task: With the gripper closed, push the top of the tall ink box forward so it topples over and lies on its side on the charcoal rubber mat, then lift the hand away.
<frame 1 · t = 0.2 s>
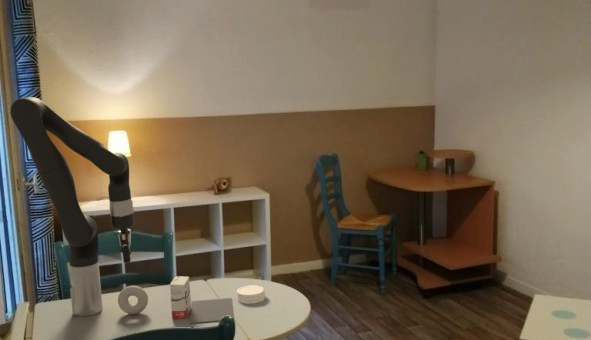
hand: (127, 258, 193), 18 cm above the table, tool pointing down, fingers open, 8 cm apart
donut: (134, 314, 191), on the table
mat: (211, 310, 192), on the table
white round lidded container: (251, 299, 201), on the table
ink box: (181, 314, 190), on the table
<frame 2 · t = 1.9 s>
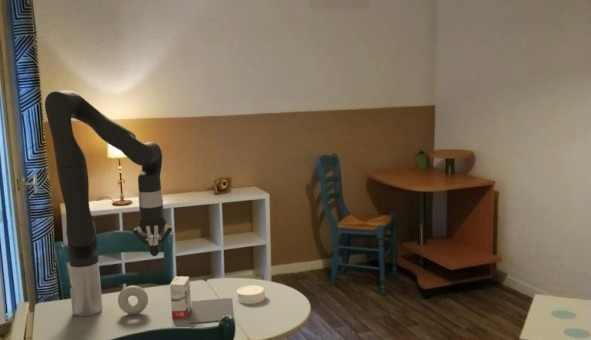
hand: (154, 255, 186), 21 cm above the table, tool pointing down, fingers closed
nothing on the table moved.
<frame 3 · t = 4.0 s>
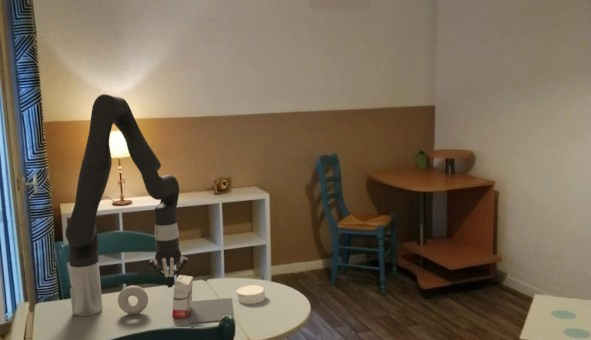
hand: (170, 286, 188), 10 cm above the table, tool pointing down, fingers closed
ink box: (181, 313, 190), on the table, touching gripper, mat
everything else where it was.
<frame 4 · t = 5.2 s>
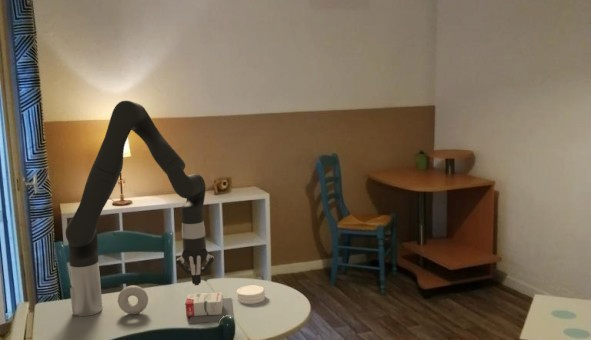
hand: (196, 284, 189), 10 cm above the table, tool pointing down, fingers closed
ink box: (186, 305, 190), point 3 cm above the table, touching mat
everything else where it was.
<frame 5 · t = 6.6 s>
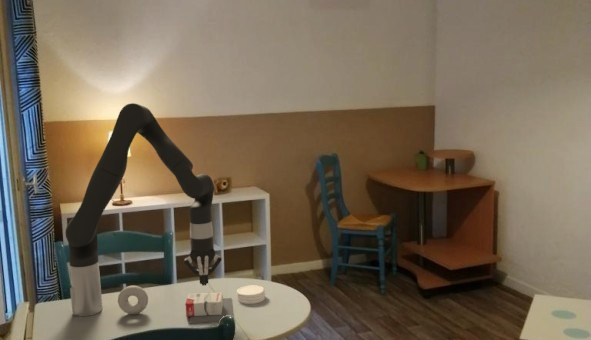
hand: (204, 284, 190), 10 cm above the table, tool pointing down, fingers closed
nothing on the table moved.
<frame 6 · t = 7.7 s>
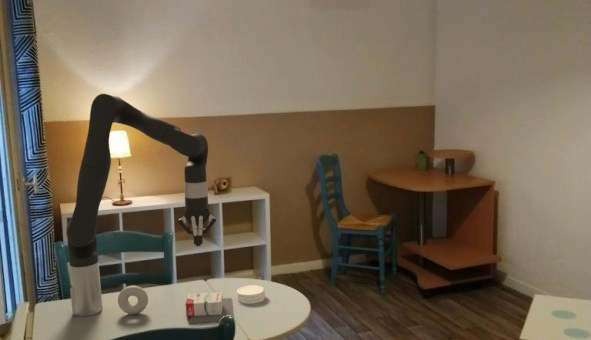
hand: (198, 245, 188), 23 cm above the table, tool pointing down, fingers closed
nothing on the table moved.
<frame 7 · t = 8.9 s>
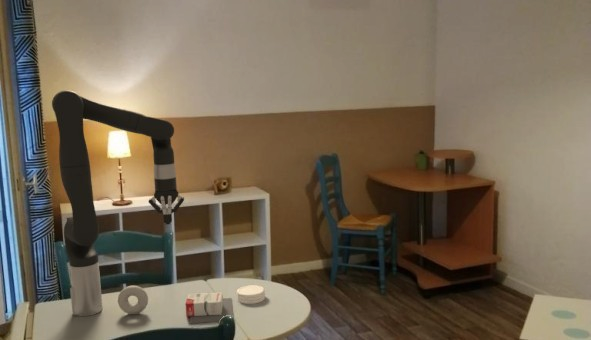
hand: (168, 223, 202), 27 cm above the table, tool pointing down, fingers closed
nothing on the table moved.
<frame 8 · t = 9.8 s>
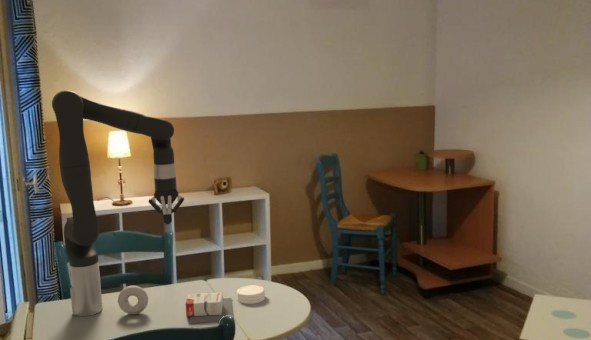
hand: (168, 223, 202), 27 cm above the table, tool pointing down, fingers closed
nothing on the table moved.
at the end: ink box tilted 90°; ink box touching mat; ink box inside the target area (2.2 cm from its centre), point 2.8 cm above the table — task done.
